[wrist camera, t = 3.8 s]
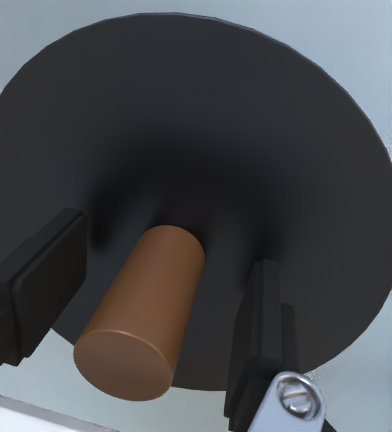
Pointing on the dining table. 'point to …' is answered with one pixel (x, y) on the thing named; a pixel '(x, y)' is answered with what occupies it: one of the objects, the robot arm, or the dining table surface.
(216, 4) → the dining table surface
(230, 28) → the pan lid
